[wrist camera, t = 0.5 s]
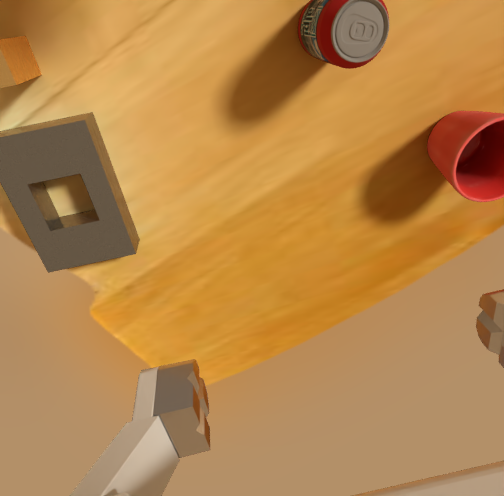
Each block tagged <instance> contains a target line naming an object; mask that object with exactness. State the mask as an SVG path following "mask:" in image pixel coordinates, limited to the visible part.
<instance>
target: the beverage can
mask: <svg viewBox="0 0 504 496" xmlns="http://www.w3.org/2000/svg"><path fill="white" fill-rule="evenodd" d="M388 31H389V16H388V12H387V8H386V6H385V4H384V2H383V1H382V0H311V1H309V3H308V4H307V5H306V6H305V8H304V9H303V11H302V13H301V16H300V19H299V24H298V35H299V39H300V42H301V45H302V46H303V48H304V49H305V51H306V52H307V53H308V54H310V55H311V56H313V57H315V58H317V59H320V60H322V61H325V62H327V63H330V64H333V65H336V66H339V67H342V68H357V67H361V66H363V65H365V64H367V63H368V62H370V61H371V60H372V59H373V58H374V57H375V56H376V55H377V54H378V53H379V52H380V50H381V49H382V47H383V45H384V43H385V41H386V39H387V36H388Z"/></svg>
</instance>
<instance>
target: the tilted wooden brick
mask: <svg viewBox="0 0 504 496" xmlns="http://www.w3.org/2000/svg"><path fill="white" fill-rule="evenodd" d="M40 75H42V74H41V72H40V70H39V67H38V65H37V62H36V60H35V57H34V55H33V53H32V50H31V48H30V45H29V43H28V41H27V38H26V36H21V37H14V38H6V39H0V88H4V87H9V86H14V85H18V84H20V83H23V82H25V81H28V80H30V79H33V78H35V77H38V76H40Z"/></svg>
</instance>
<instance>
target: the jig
mask: <svg viewBox="0 0 504 496" xmlns="http://www.w3.org/2000/svg"><path fill="white" fill-rule="evenodd" d="M75 174H81V176H82V179H83V181H84V184H85V186H86V188H87V191H88V193H89V196H90V198H91V200H92V203H93V205H94V208H95V210H92V211H87V212H82V213H77V214H73V215H68V216H63V217H59V215H58V213H57V211H56V209H55V207H54V205H53V203H52V201H51V198H50V196H49V194H48V192H47V190H46V188H45V186H44V184H43V182H42V181H47V180H51V179H56V178H61V177H66V176H71V175H75ZM0 183H1V185H2V186H3V188H4V190H5V192H6V194H7V196H8V198H9V200H10V202H11V203H12V205H13V207H14V209H15V211H16V213H17V215H18V217H19V218H20V220H21V222H22V224H23V226H24V228H25V230H26V232H27V234H28V235H29V237H30V239H31V241H32V243H33V245H34V247H35V249H36V250H37V252H38V254H39V256H40V258H41V260H42V262H43V264H44V265H45V267H46V269H47V271H48V272H53V271H58V270H62V269H67V268H72V267H77V266H81V265H86V264H91V263H95V262H100V261H105V260H109V259H114V258H119V257H124V256H128V255H133V254H136V252H137V248H138V244H139V237H138V234H137V231H136V229H135V226H134V223H133V221H132V218H131V215H130V213H129V210H128V207H127V204H126V202H125V199H124V196H123V194H122V191H121V188H120V185H119V183H118V180H117V177H116V175H115V172H114V169H113V166H112V164H111V161H110V158H109V156H108V153H107V150H106V147H105V145H104V142H103V139H102V137H101V134H100V131H99V128H98V126H97V123H96V120H95V118H94V115H93V112H92V113H87V114H82V115H77V116H72V117H67V118H63V119H58V120H53V121H48V122H43V123H38V124H34V125H29V126H24V127H19V128H14V129H9V130H4V131H0Z"/></svg>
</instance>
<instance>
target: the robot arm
mask: <svg viewBox="0 0 504 496" xmlns="http://www.w3.org/2000/svg"><path fill="white" fill-rule="evenodd" d="M479 306H480V307H481V308H482V309H483V311H482V312H481V313H480V315H479V316H478V317H477V322H476V328H477V332H478V336H479V338H480V340H481V341H482V343H483V344H484V346H485V347H486V348H487V349H488V350H489V351H492V352H494V353H496V354H498V355H499V363H500V364H501V365H502V366H503V368H504V289H503V290H499V291H495V292H490V293H486V294H483V295H482V296H481V298H480V301H479ZM208 414H209V403H208V396H207V391H206V386H205V383H204V380H203V379H202V378H200V377H199V367H198V364H197V362H196V360H194V359H193V360H188V361H183V362H178V363H173V364H168V365H163V366H159V367H155V368H150V369H145V370H141V372H140V374H139V378H138V385H137V391H136V398H135V404H134V411H133V417H132V422H128V423H126V424H125V425H124V427H123V428H122V429H121V430H120V432H119V433H118V434H117V436H116V437H115V438H114V439H113V441H112V442H111V443H110V445H109V446H108V447H107V449H106V450H105V451H104V453H103V454H102V455H101V456H100V457H99V459H98V460H97V461H96V463H95V464H94V465H93V466H92V468H91V469H90V470H89V472H88V473H87V474H86V475H85V477H84V478H83V479H82V481H81V482H80V483H79V484H78V486H77V487H76V488H75V490H74V491H73V492H72V493H71V495H70V496H162V494H163V492H164V490H165V488H166V486H167V484H168V482H169V480H170V478H171V476H172V474H173V472H174V470H175V468H176V466H177V464H178V462H179V458H182V457H185V456H189V455H193V454H197V453H201V452H205V451H209V450H210V427H209V425H208V422H207V419H206V417H207V416H208ZM352 496H504V461H500V462H496V463H491V464H487V465H483V466H478V467H474V468H470V469H466V470H461V471H456V472H452V473H448V474H443V475H439V476H435V477H430V478H426V479H422V480H417V481H413V482H409V483H404V484H400V485H396V486H391V487H387V488H383V489H378V490H375V491H370V492H366V493H361V494H357V495H352Z"/></svg>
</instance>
